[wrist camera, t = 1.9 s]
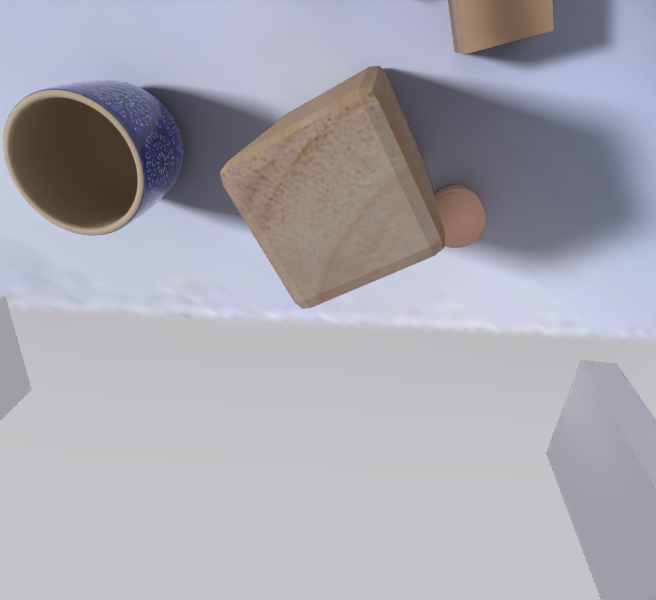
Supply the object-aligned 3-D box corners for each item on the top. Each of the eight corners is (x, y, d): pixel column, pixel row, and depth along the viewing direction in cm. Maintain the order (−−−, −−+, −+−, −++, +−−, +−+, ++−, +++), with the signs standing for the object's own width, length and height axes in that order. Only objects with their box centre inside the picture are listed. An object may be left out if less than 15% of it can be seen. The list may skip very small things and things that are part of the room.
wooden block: (428, 168, 45) (453, 254, 27) (331, 215, 48) (298, 319, 31) (380, 60, 41) (375, 79, 24) (278, 118, 44) (207, 173, 27)
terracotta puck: (421, 232, 48) (423, 243, 45) (432, 181, 46) (434, 190, 43) (473, 239, 48) (478, 251, 45) (486, 187, 45) (492, 197, 43)
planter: (219, 134, 46) (172, 162, 36) (158, 218, 50) (102, 263, 40) (117, 46, 43) (37, 51, 33) (63, 143, 48) (-22, 172, 38)
